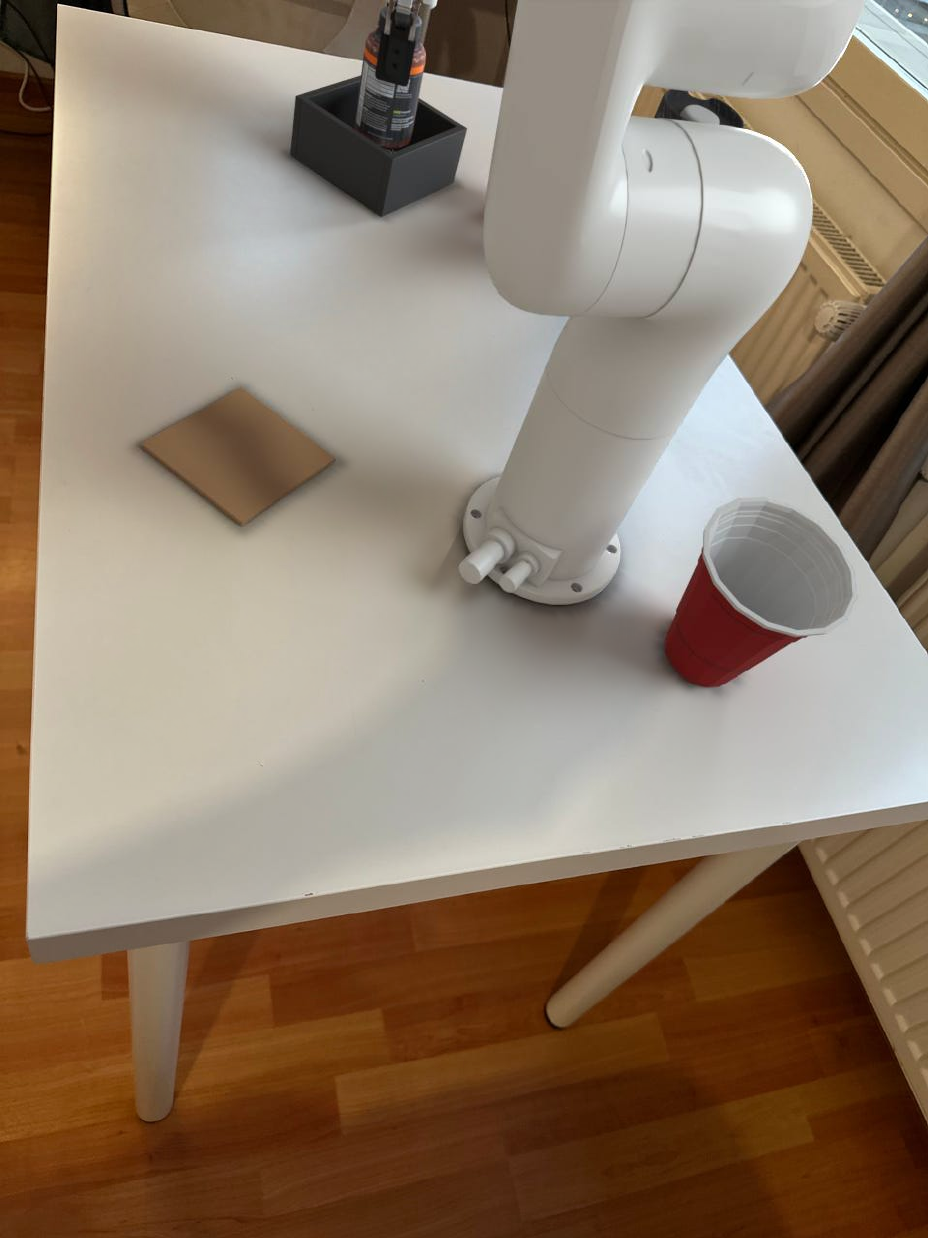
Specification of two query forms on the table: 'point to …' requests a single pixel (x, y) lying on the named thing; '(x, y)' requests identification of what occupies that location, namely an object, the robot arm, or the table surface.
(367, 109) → the supplement bottle
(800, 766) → the table surface
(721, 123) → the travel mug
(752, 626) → the plastic cup
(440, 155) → the bin
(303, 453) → the coaster
